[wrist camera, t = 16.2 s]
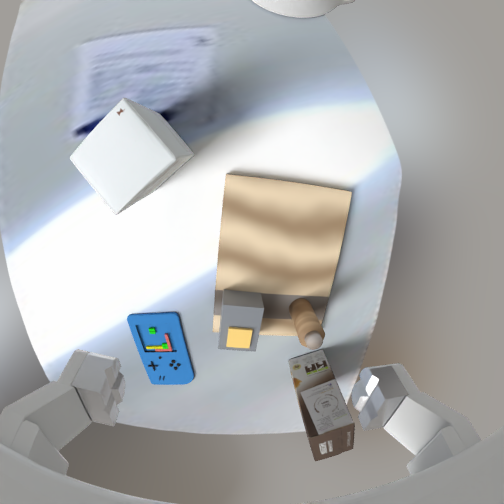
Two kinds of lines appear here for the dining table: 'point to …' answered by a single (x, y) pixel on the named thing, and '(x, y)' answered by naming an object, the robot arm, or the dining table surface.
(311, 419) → the brown food box
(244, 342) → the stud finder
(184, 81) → the dining table surface
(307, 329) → the marker peg
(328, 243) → the plywood board
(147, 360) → the handheld gaming device
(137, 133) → the supplement box
